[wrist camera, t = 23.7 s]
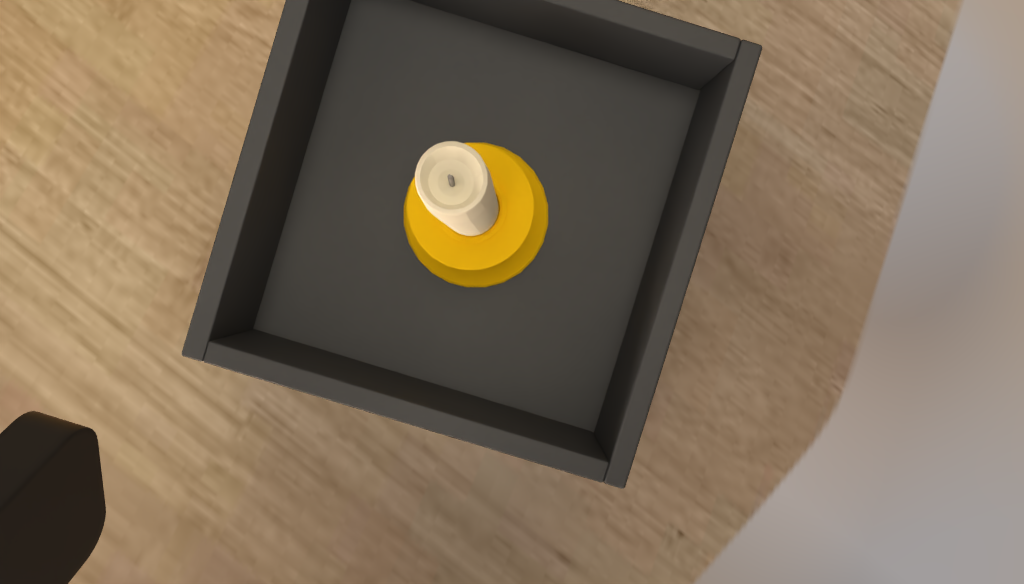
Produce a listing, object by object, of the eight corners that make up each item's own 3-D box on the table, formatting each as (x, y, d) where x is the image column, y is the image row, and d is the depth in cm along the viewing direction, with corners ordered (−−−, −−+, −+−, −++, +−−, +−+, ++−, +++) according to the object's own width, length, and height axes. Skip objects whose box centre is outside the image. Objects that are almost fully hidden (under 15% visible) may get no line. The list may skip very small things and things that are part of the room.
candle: (515, 309, 33) (523, 352, 17) (382, 254, 33) (271, 248, 17) (570, 176, 33) (628, 100, 17) (437, 121, 33) (374, -7, 17)
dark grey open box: (719, 82, 33) (763, 45, 28) (604, 450, 34) (624, 490, 28) (347, -34, 33) (313, -96, 27) (236, 339, 34) (180, 355, 28)
